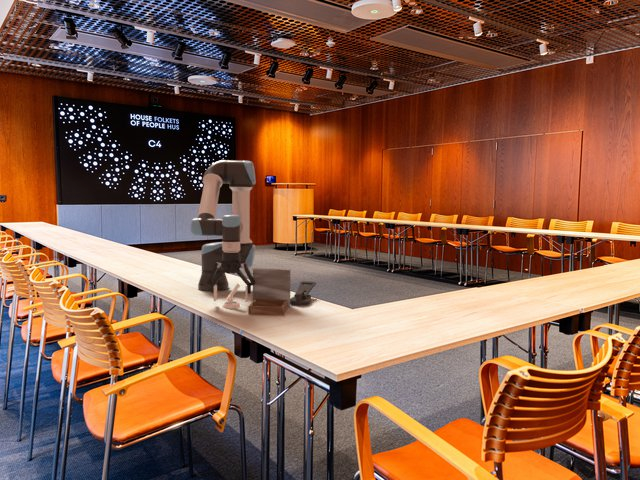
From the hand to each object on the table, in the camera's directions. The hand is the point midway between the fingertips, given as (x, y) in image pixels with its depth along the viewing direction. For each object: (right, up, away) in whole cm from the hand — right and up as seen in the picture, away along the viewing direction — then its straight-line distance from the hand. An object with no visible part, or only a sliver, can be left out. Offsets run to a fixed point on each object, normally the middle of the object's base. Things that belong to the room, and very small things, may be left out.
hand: (231, 300), depth 205 cm
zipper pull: (+30, -2, +16) cm, 34 cm away
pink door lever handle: (0, -3, 0) cm, 3 cm away
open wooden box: (+17, -3, -5) cm, 18 cm away
